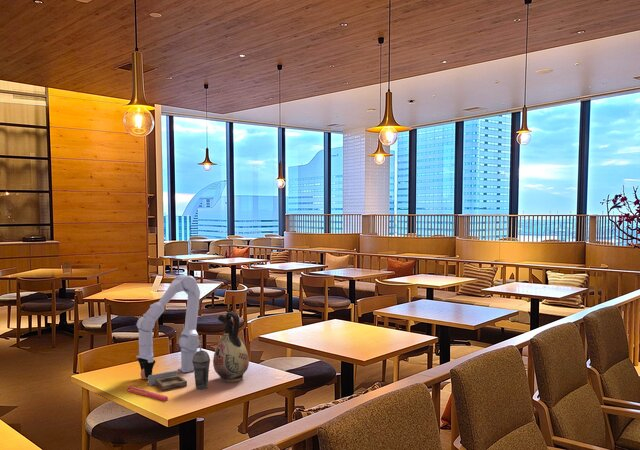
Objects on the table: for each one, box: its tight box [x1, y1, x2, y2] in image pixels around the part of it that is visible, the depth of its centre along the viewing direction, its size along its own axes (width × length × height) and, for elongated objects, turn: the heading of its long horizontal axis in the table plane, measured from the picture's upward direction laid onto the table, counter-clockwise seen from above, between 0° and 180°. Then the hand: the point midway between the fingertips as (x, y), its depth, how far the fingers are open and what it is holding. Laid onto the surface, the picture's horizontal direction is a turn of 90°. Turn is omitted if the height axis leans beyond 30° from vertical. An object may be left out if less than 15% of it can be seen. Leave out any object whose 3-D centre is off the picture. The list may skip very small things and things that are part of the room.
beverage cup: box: [192, 339, 211, 391], centre depth 201 cm, size 7×7×20 cm
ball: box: [140, 369, 154, 380], centre depth 215 cm, size 5×5×5 cm
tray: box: [155, 374, 188, 392], centre depth 206 cm, size 10×10×2 cm
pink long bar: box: [126, 385, 169, 402], centre depth 195 cm, size 24×2×5 cm
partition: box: [147, 369, 178, 387], centre depth 210 cm, size 12×3×4 cm, turn 124°
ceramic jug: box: [212, 311, 250, 383], centre depth 212 cm, size 17×15×30 cm
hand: (146, 375), depth 215 cm, fingers closed on ball, 5 cm apart
